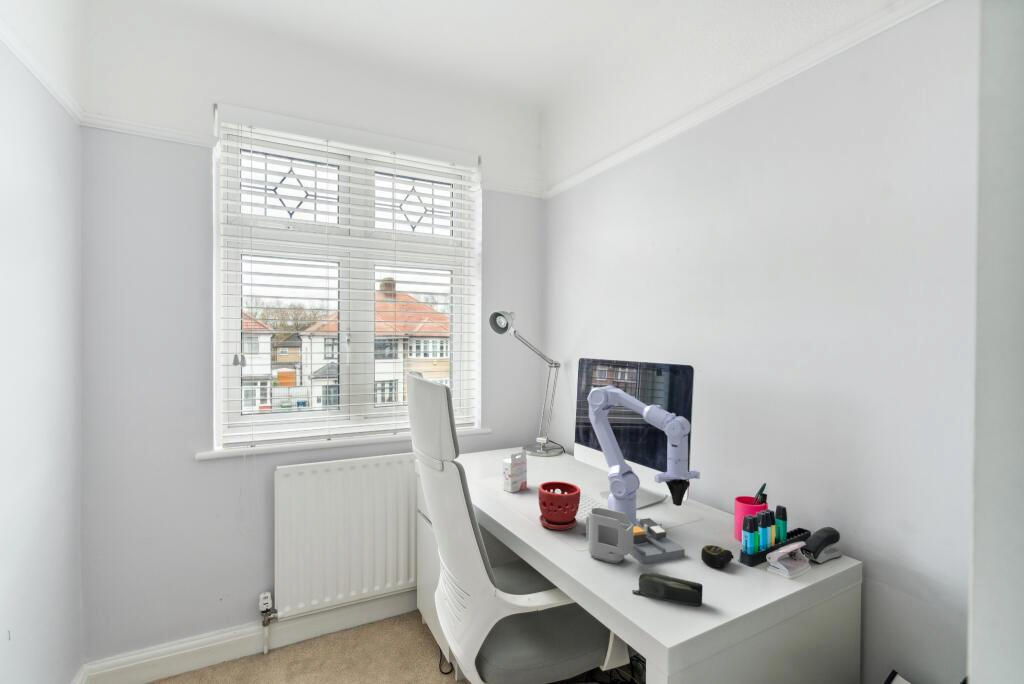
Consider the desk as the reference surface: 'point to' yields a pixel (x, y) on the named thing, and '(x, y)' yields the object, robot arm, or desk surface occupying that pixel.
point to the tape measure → (716, 556)
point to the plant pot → (558, 505)
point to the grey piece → (609, 534)
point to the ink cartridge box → (515, 473)
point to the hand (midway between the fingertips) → (677, 504)
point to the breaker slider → (638, 535)
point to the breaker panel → (656, 549)
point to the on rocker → (653, 528)
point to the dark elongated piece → (670, 589)
